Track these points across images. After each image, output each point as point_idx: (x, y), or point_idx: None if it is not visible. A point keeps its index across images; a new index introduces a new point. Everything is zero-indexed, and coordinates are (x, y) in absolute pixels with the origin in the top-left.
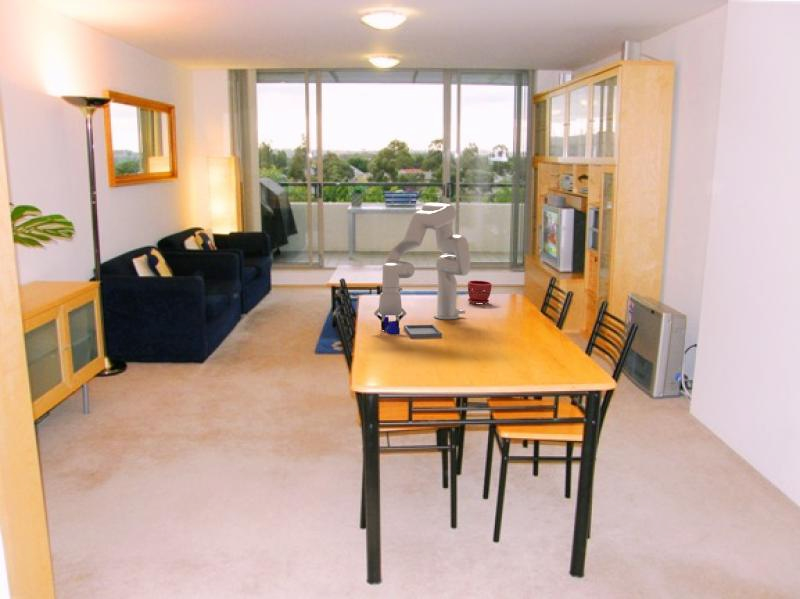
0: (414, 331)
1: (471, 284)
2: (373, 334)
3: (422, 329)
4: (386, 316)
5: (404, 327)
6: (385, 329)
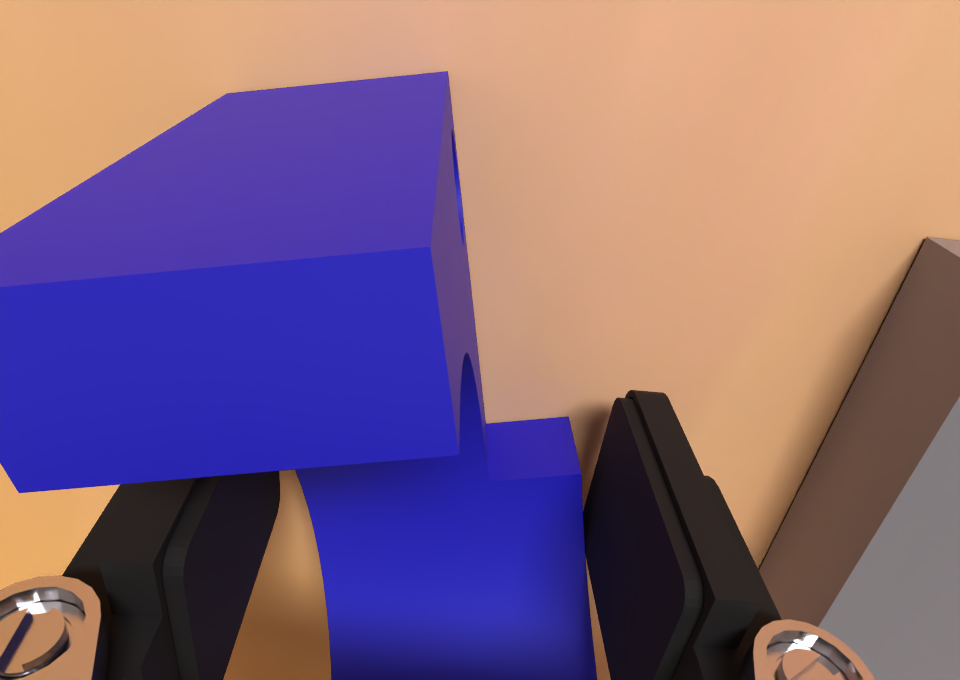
0: (922, 626)
1: None
2: (24, 556)
3: None
4: (335, 301)
5: (928, 363)
6: (305, 472)
